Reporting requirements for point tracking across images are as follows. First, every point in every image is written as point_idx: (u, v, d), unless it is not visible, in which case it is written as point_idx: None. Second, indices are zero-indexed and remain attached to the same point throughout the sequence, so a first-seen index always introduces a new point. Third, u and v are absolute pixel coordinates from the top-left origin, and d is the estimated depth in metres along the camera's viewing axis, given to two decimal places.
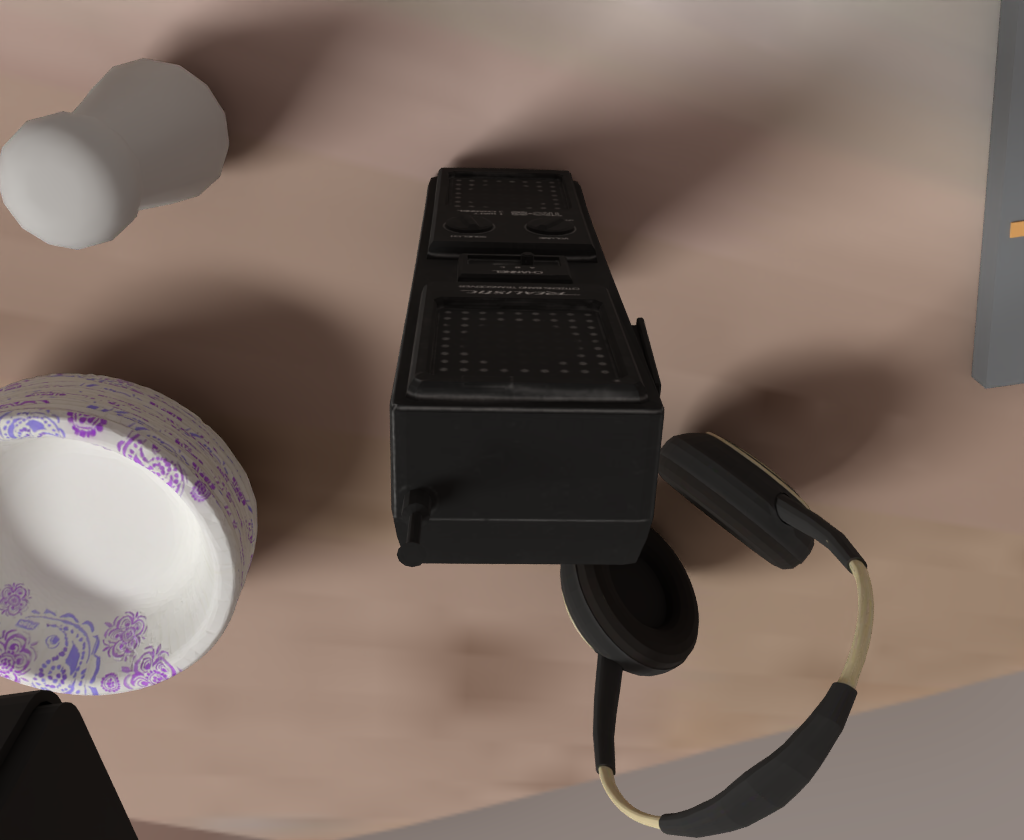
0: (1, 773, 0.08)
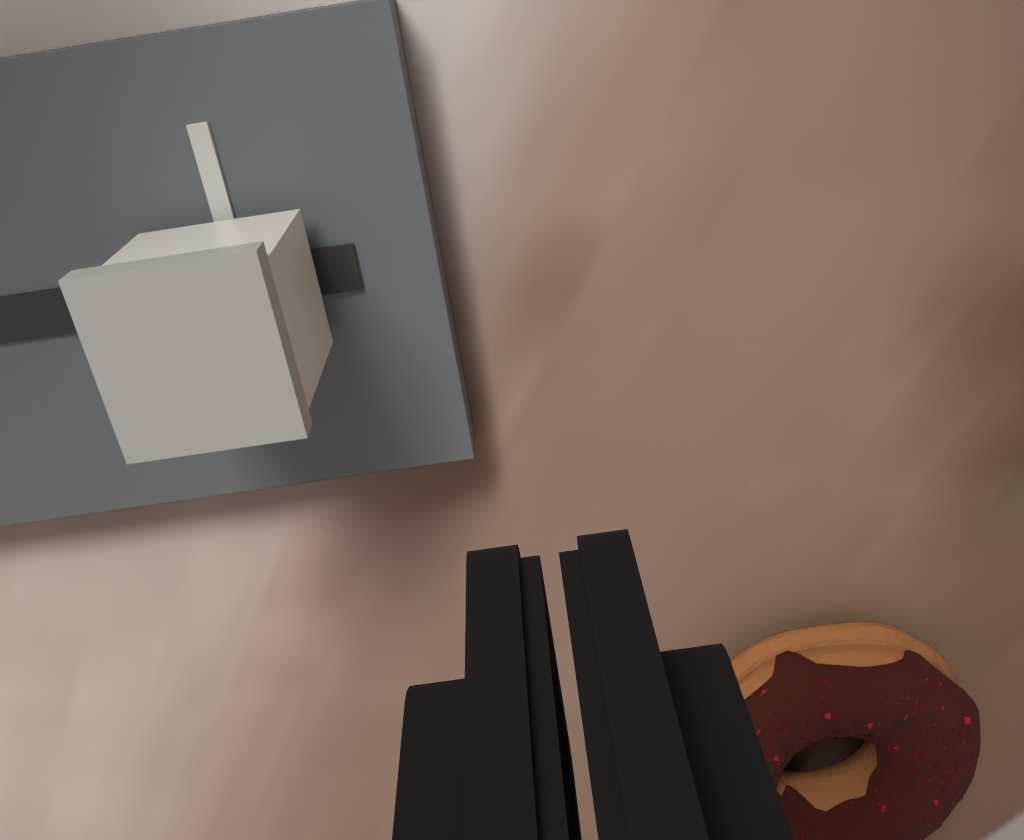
0: (526, 604, 0.09)
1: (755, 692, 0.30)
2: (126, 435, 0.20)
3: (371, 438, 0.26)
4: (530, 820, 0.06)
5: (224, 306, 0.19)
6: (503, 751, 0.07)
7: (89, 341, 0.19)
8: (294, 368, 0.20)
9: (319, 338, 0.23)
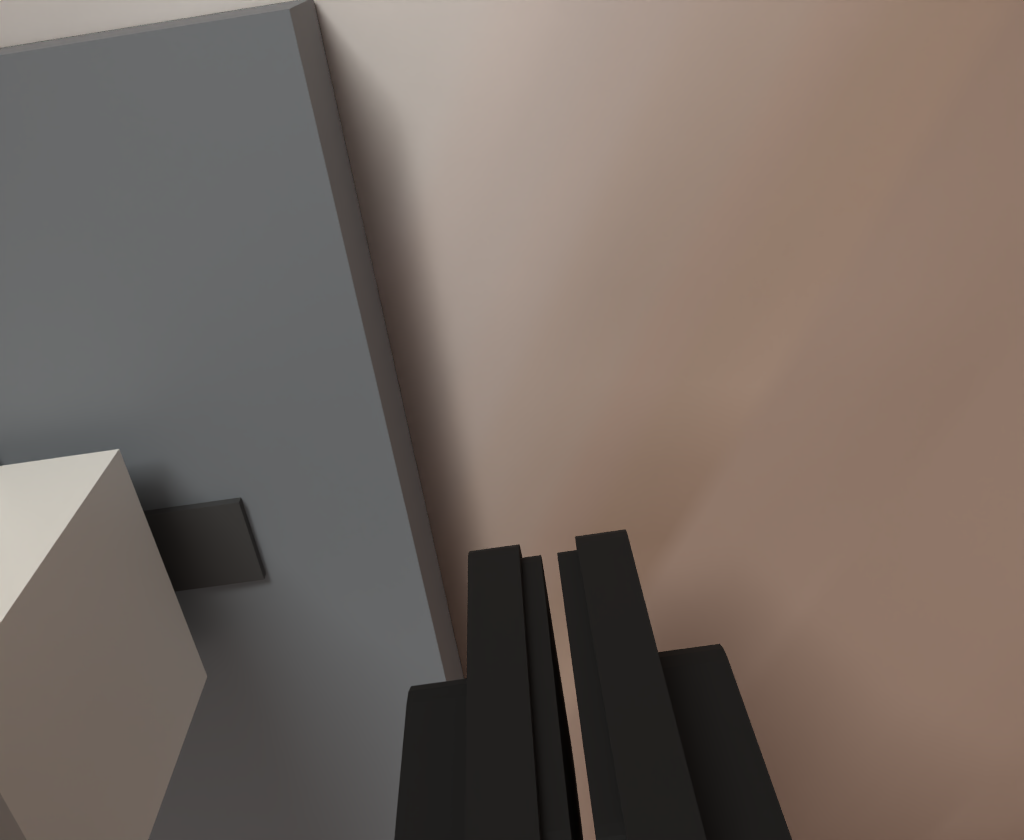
0: (528, 604, 0.09)
1: None
2: None
3: (294, 806, 0.15)
4: (533, 820, 0.06)
5: None
6: (506, 751, 0.07)
7: None
8: None
9: (161, 718, 0.11)
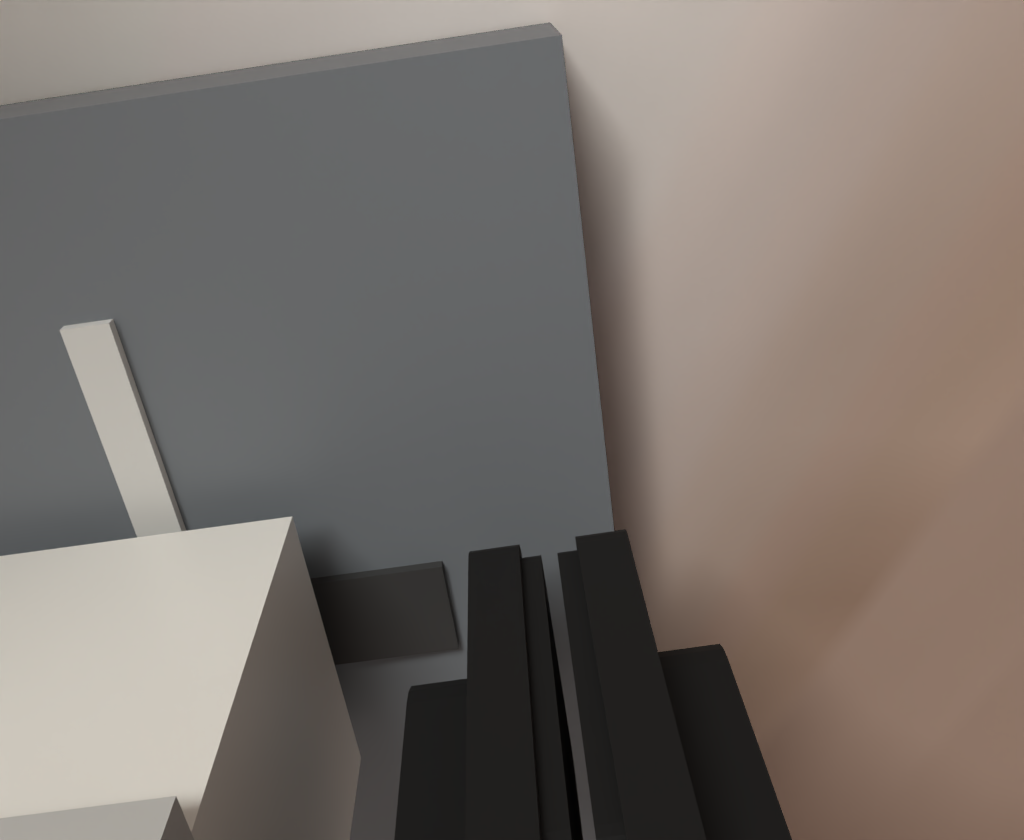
0: (528, 604, 0.09)
1: None
2: None
3: None
4: (533, 820, 0.06)
5: None
6: (506, 750, 0.07)
7: None
8: None
9: (334, 812, 0.10)
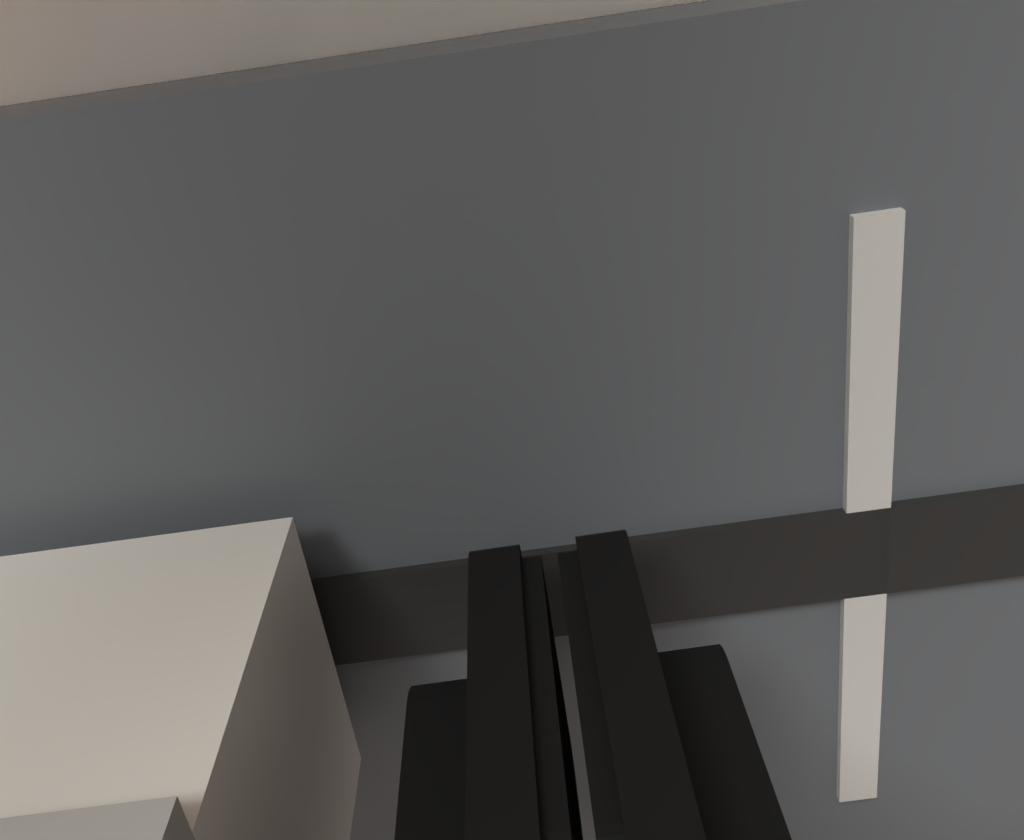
0: (528, 604, 0.09)
1: None
2: None
3: (1018, 819, 0.13)
4: (533, 820, 0.06)
5: None
6: (506, 752, 0.07)
7: None
8: None
9: (335, 813, 0.10)
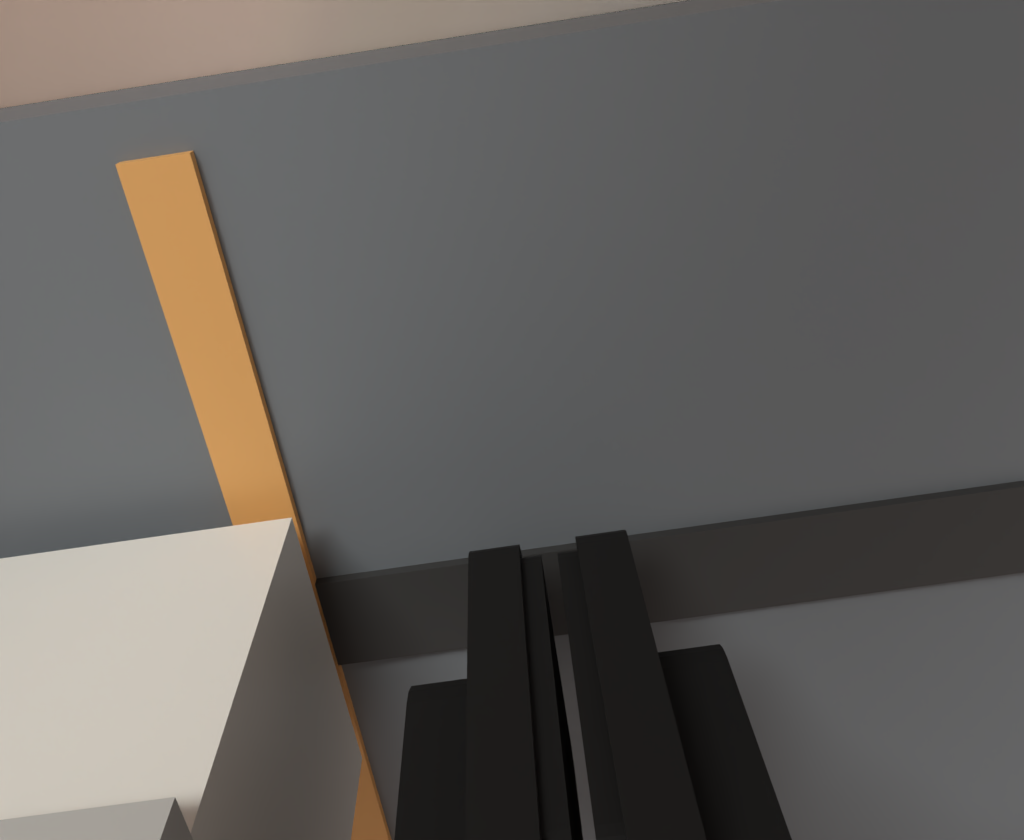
0: (528, 605, 0.09)
1: None
2: None
3: None
4: (533, 820, 0.06)
5: None
6: (506, 752, 0.07)
7: None
8: None
9: (335, 813, 0.10)
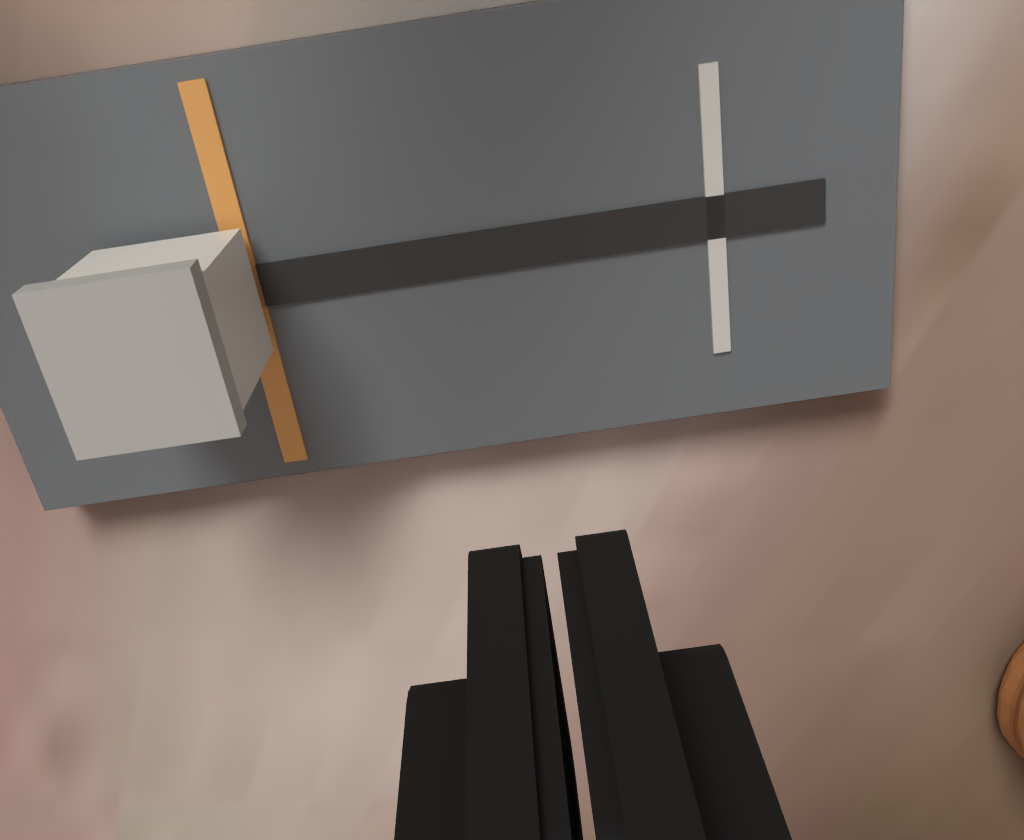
0: (528, 604, 0.09)
1: None
2: (75, 434, 0.23)
3: (799, 367, 0.28)
4: (533, 820, 0.06)
5: (162, 317, 0.21)
6: (505, 750, 0.07)
7: (40, 349, 0.22)
8: (228, 373, 0.22)
9: (257, 346, 0.25)
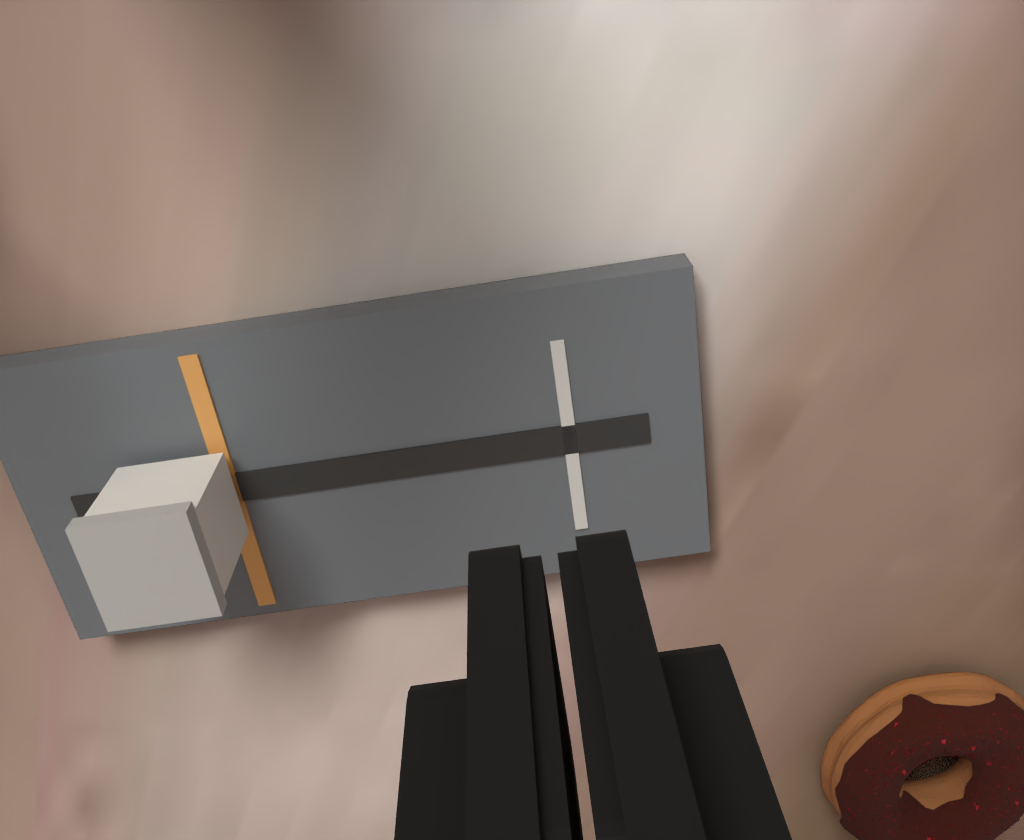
0: (527, 604, 0.09)
1: (889, 723, 0.41)
2: (107, 615, 0.32)
3: (641, 538, 0.38)
4: (533, 820, 0.06)
5: (167, 542, 0.31)
6: (506, 750, 0.07)
7: (84, 562, 0.31)
8: (213, 573, 0.32)
9: (236, 537, 0.35)
